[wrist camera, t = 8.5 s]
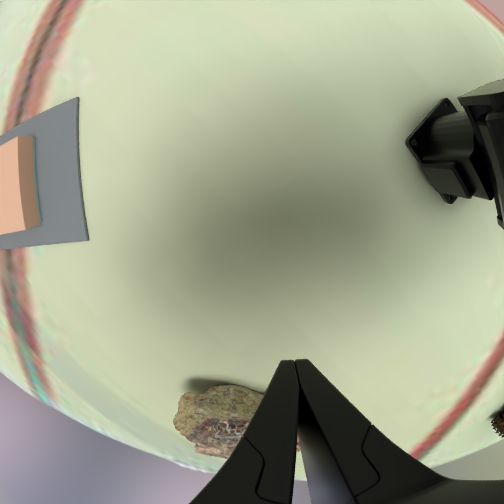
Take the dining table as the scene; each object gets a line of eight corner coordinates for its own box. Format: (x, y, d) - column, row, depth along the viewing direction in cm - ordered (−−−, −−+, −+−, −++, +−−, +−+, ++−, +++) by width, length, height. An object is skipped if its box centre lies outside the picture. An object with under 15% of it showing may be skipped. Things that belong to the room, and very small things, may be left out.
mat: (79, 97, 16) (77, 96, 15) (89, 239, 19) (87, 240, 19) (-29, 156, 16) (-30, 157, 16) (-18, 251, 20) (-20, 252, 20)
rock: (156, 420, 17) (206, 484, 19) (300, 400, 16) (323, 471, 17) (180, 376, 24) (217, 440, 26) (294, 352, 23) (315, 423, 24)
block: (17, 136, 14) (-30, 165, 14) (25, 229, 16) (-22, 239, 17) (35, 136, 16) (-15, 163, 17) (42, 223, 19) (-8, 233, 19)
